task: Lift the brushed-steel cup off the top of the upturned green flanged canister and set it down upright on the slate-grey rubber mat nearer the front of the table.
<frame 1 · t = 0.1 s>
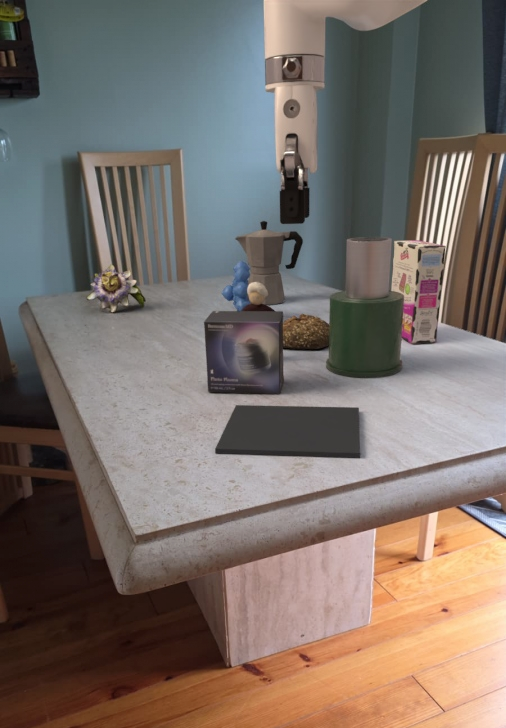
hand: (295, 220, 86), 22 cm above the table, tool pointing down, fingers open, 9 cm apart
steel cup: (366, 295, 93), point 11 cm above the table, touching green flanged canister
passion flower: (117, 309, 145), on the table
coffeepot: (270, 302, 148), on the table
mat: (291, 431, 75), on the table
bread roll: (300, 342, 113), on the table
green flanged canister: (363, 366, 98), on the table
small box: (246, 388, 90), on the table
grandmother figurine: (259, 361, 103), on the table
candy bar box: (411, 337, 114), on the table
grapes: (239, 322, 129), on the table
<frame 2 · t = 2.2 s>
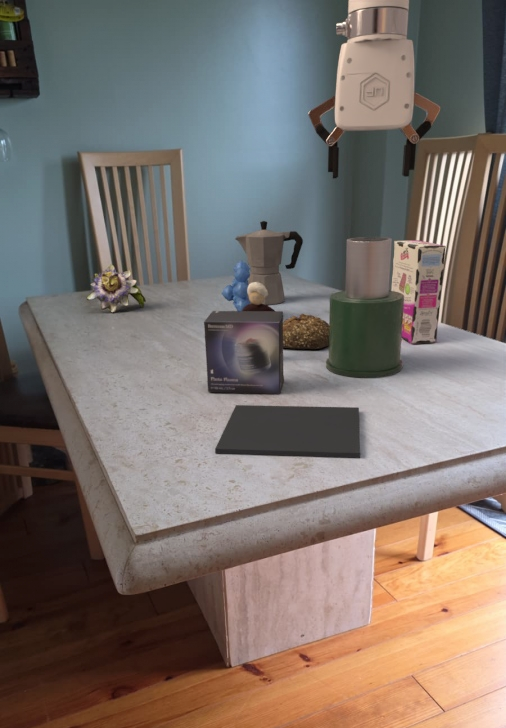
hand: (370, 177, 87), 27 cm above the table, tool pointing down, fingers open, 9 cm apart
nothing on the table moved.
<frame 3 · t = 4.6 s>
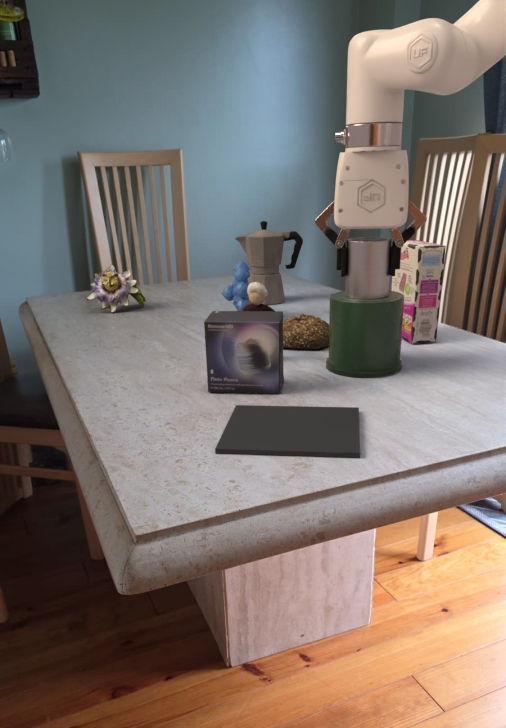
hand: (367, 273, 92), 14 cm above the table, tool pointing down, fingers closed on steel cup, 6 cm apart
steel cup: (366, 295, 93), point 11 cm above the table, touching gripper, green flanged canister
everything else where it was.
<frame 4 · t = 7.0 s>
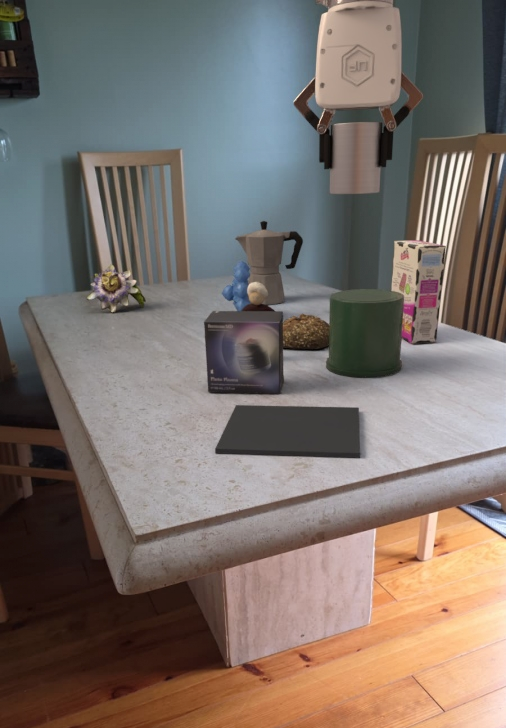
hand: (355, 166, 80), 29 cm above the table, tool pointing down, fingers closed on steel cup, 6 cm apart
steel cup: (354, 192, 81), point 26 cm above the table, touching gripper
everything else where it was.
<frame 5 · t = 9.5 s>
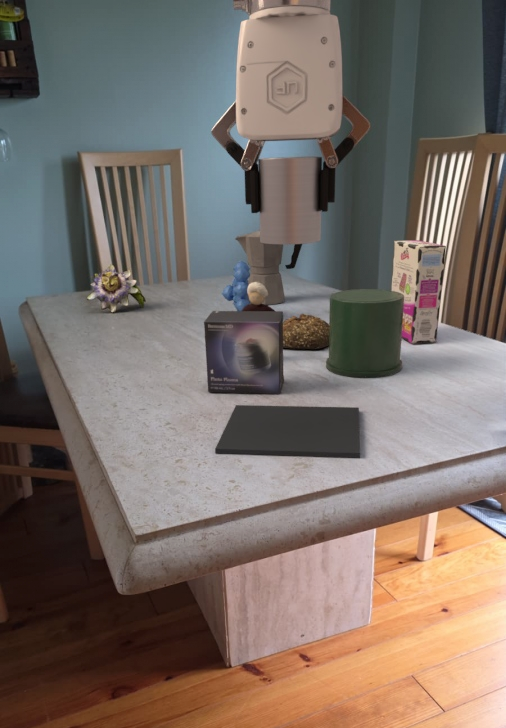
hand: (290, 209, 65), 25 cm above the table, tool pointing down, fingers closed on steel cup, 6 cm apart
steel cup: (290, 241, 66), point 22 cm above the table, touching gripper
everything else where it was.
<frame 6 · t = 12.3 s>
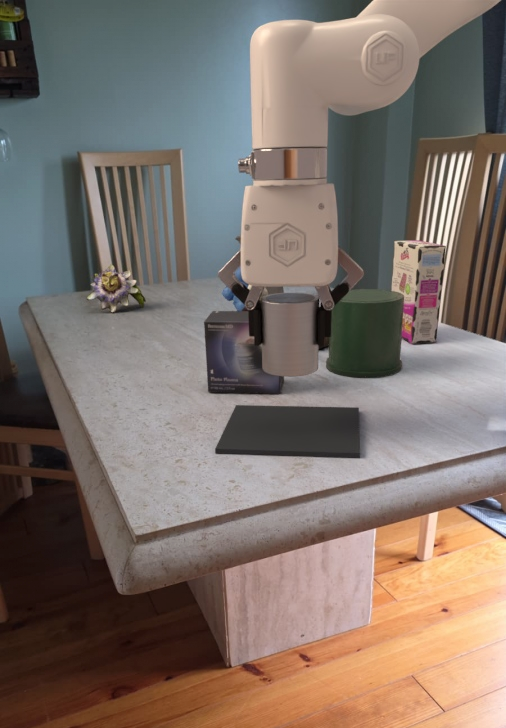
hand: (290, 341, 70), 11 cm above the table, tool pointing down, fingers closed on steel cup, 6 cm apart
steel cup: (290, 368, 72), point 8 cm above the table, touching gripper
everything else where it was.
when the fingers open (4 cm above the table, at t = 14.5 s): steel cup stays where it is, resting on mat.
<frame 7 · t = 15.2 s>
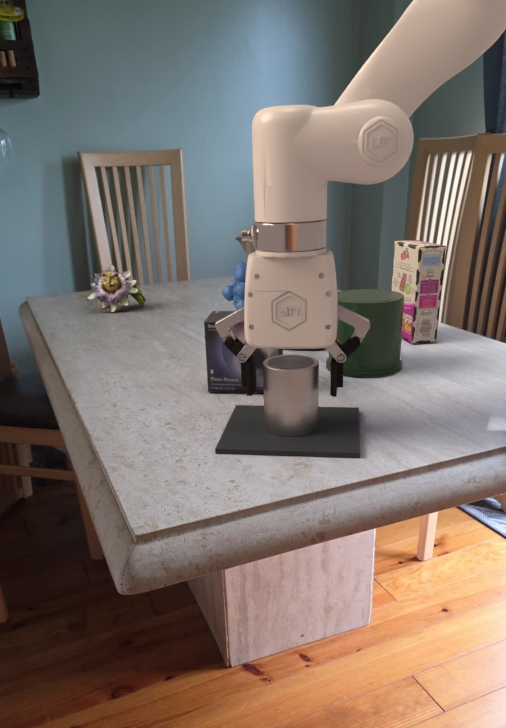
hand: (292, 392, 73), 5 cm above the table, tool pointing down, fingers open, 9 cm apart
steel cup: (291, 426, 75), point 1 cm above the table, touching mat
everything else where it was.
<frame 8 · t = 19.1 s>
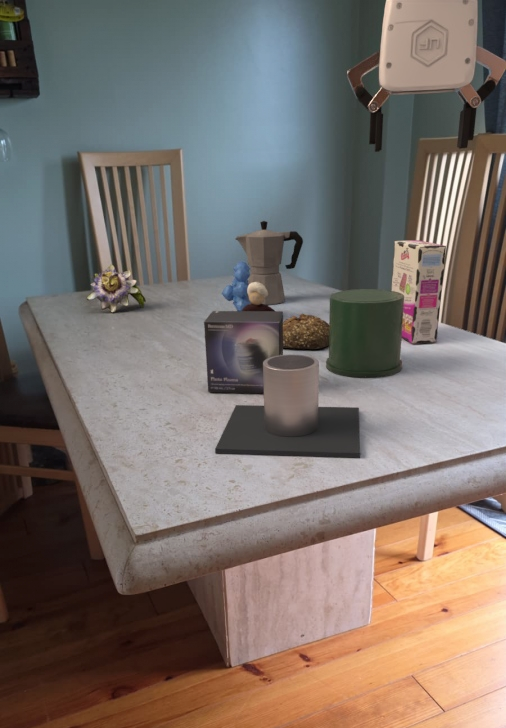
hand: (419, 149, 73), 30 cm above the table, tool pointing down, fingers open, 9 cm apart
nothing on the table moved.
at the end: steel cup inside the target area on the mat (0.1 cm from its centre), point 0.6 cm above the mat's base; steel cup tilted 0°; steel cup touching mat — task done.
